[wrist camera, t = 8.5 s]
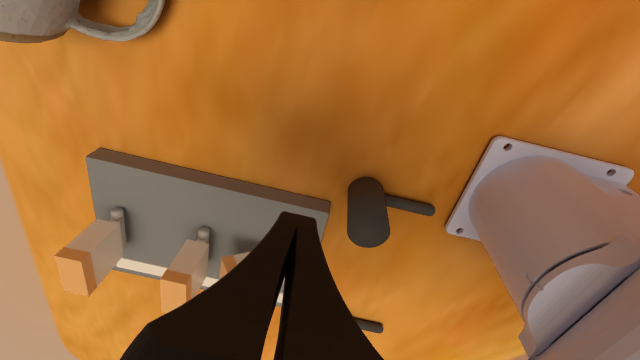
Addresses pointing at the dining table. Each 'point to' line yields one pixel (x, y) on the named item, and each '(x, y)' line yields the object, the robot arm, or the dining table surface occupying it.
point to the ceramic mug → (66, 21)
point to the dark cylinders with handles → (374, 220)
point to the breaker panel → (187, 211)
